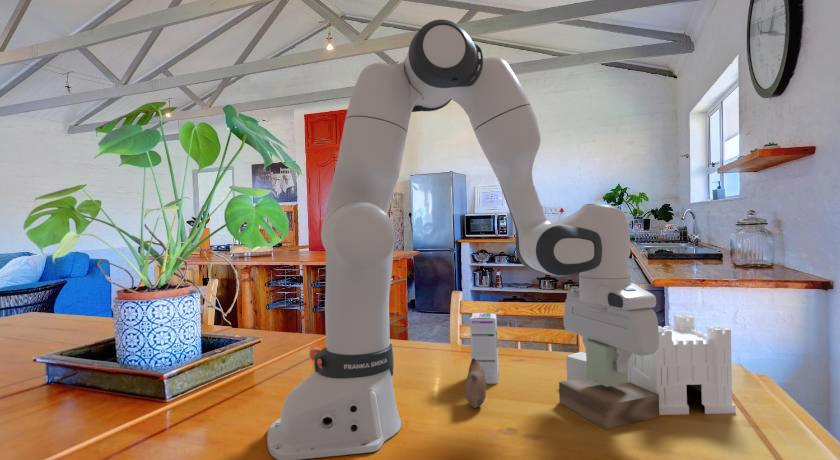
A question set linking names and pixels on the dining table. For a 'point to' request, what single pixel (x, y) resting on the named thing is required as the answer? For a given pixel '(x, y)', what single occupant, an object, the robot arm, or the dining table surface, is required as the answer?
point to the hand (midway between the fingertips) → (606, 366)
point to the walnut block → (609, 402)
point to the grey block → (576, 366)
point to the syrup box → (485, 344)
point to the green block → (603, 364)
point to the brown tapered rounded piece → (475, 384)
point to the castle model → (687, 367)
